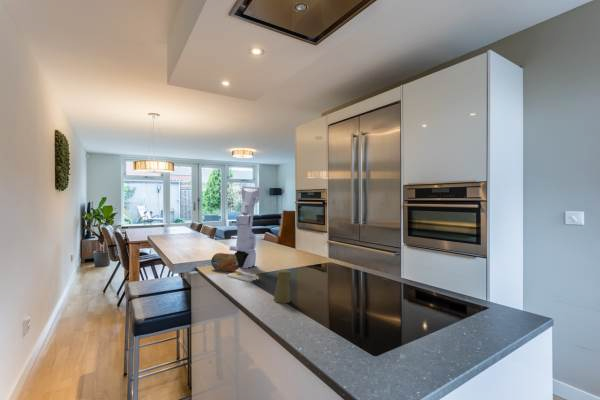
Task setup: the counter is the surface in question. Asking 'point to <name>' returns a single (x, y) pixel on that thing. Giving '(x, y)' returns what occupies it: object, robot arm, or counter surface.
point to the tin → (225, 262)
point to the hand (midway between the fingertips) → (240, 267)
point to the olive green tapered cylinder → (283, 287)
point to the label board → (243, 276)
